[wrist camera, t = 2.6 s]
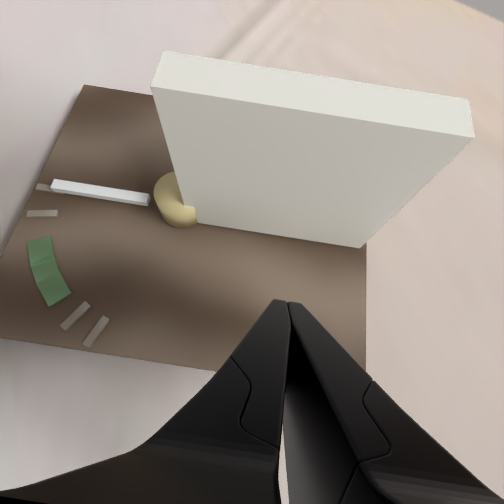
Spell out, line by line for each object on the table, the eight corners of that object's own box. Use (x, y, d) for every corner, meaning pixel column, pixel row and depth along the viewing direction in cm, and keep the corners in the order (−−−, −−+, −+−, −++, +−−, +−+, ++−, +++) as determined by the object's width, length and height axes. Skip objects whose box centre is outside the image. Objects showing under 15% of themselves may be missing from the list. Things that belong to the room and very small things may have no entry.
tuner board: (354, 392, 17) (366, 394, 15) (-13, 335, 16) (-38, 331, 15) (358, 144, 23) (368, 128, 21) (93, 102, 23) (83, 82, 21)
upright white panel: (359, 256, 17) (477, 150, 9) (48, 207, 17) (-122, 55, 9) (360, 216, 18) (466, 88, 10) (65, 169, 18) (-75, 1, 10)
